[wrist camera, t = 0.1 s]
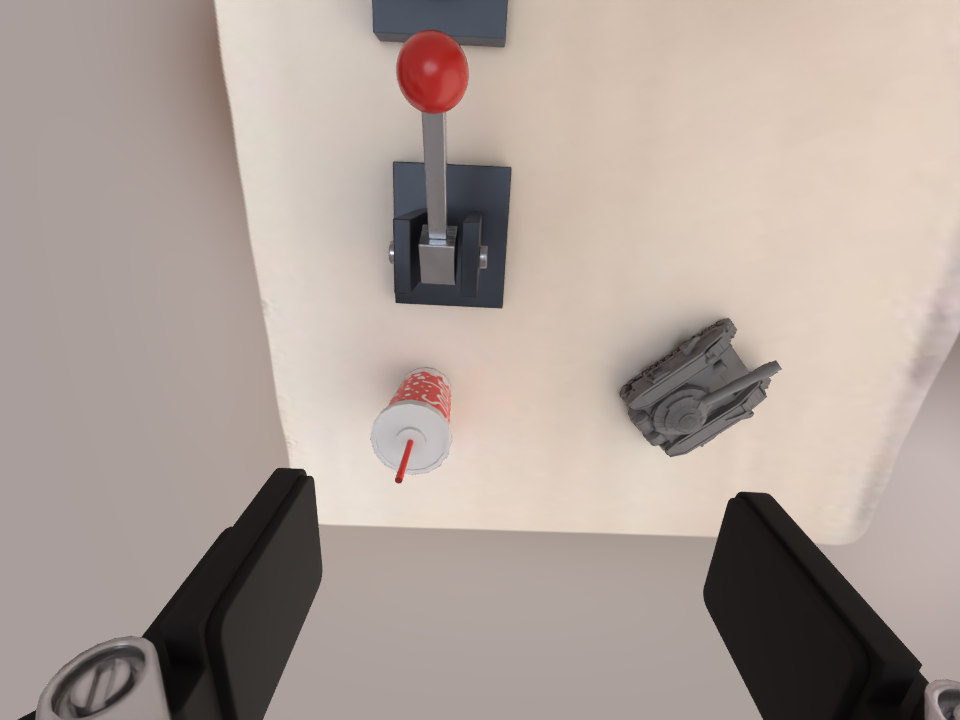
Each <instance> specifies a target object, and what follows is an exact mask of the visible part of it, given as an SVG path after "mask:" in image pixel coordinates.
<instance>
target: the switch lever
mask: <svg viewBox="0 0 960 720" xmlns="http://www.w3.org/2000/svg"><path fill="white" fill-rule="evenodd" d="M396 75H397V81H398V85H399V87H400V90H401V92H402V94H403V95H404V97H405V98H406V100H407V101H408V102H409V103H410V104H411V105H412V106H413V107H415V108H416V109H418V110H420V111H422V125H423V144H424V163H425V182H426V202H427V221H428V225H423V226H422V230H421V234H420V239H419V243H418V254H419V268H420V282H421V283H427V284H447V285H455V283H456V275H457V267H458V227H457V226H448V198H447V143H446V112H447V111H449V110H451V109H452V108H453V107H455V106H456V105H457V104H458V103H459V102H460V100H461V99H462V97H463V95H464V93H465V91H466V88H467V85H468V78H469V71H468V63H467V60H466V57H465V54H464V52H463V50H462V48H461V47H460V46H459V44H458V43H457V42H456V41H455V40H454V39H453V38H452V37H451V36H449V35H448V34H446V33H444V32H441V31H438V30H423V31H420V32H417V33H416V34H414V35H412V36H411V37H410V38H409V39H408V40H407V41H406V42H405V43H404V45H403V46H402V48H401V50H400V52H399V55H398V59H397V65H396Z"/></svg>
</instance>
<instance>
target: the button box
mask: <svg viewBox="0 0 960 720" xmlns="http://www.w3.org/2000/svg"><path fill="white" fill-rule="evenodd" d="M507 4H508V0H372V7H373V32H374V33H375V35H376V36H377V37H378V38H379V40H380V41H390V42H406V41H407V40H408V39H409V38H410V37H411V36H412V35H414V34H416V33H417V32H420V31H423V30H438V31H441V32H444V33H446V34H448V35H449V36H451V37H452V38H453V39H454V40H455V41H456V42H457V43H458V44H459V45H474V46H495V47H504V46H505V39H506V22H507Z"/></svg>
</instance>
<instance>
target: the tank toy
mask: <svg viewBox="0 0 960 720" xmlns="http://www.w3.org/2000/svg"><path fill="white" fill-rule="evenodd" d="M716 326H717V327H715V326H714V325H713V326H711V327H710V330H708V331H707V330H705V331H704V332H702V333H703V335H702V336H699V335H698V336H693V337H692V338H691V340H690V341H689V342H685V343H684V344H682V345H681V346H679V349H680V351H679V352H678V351H677V350H675V351H674V352H673V353H672V354H673V356H671V357H670V356H669V355H668V356H667V357H665V359H666V360H665V361H664V362H663V361H662V360H661V361H659V362H658V365H657V366H655V365H653V366H652V367H650V368H651V369H652V370H649V371H648V370H646V371H644V373H643V374H642V375H643V377H642V375H641V374H640V375H638V376H637V377H635V378H636V380H637V381H636V382H633V380H631V381H630V382H628V385H627V386H624V387H623V388H622V390H621V392H620V397H621V398H622V399H623V401H624V402H625V403H626V404H627V406H628V405H629V406H630V407H631V409H630V410H629V412H628V415H629V416H630V420H631V421H632V422H633V423H634V424H635V426H637V427H638V429H639V430H640V431H642V433H643V436H644V437H645V438H646V440H647V441H649V442H650V444H651V445H653V446H657V445H659V446H660V447H661V448H662V450H663V451H664V450H665V453H666V454H667V455H669V456H670V457H673V456H678V455H683V454H687V453H689V452H690V451H692V450H694V449H695V448H697V447H698V446H701V447H702V446H704V444H706V443H707V442H709V441H711V440H712V439H714V438H715V437H716V436H717V435H718V434H719V433H721V432H723V431H724V430H726V429H728V428H729V427H731V426H732V425H734V424H736V423H737V422H739V421H740V420H742V419H747V418H751V417H752V416H753V415H754V412H752V409H753V408H754V407H756V406H757V405H758V404H759V403H760V402H762V401H763V400H764V399H765V398H766V397H767V396H766V393H765V390H764V389H766V388H767V389H768V385H769V384H770V382H771V380H770V378H769V377H771V376H773V375H774V374H776V373H778V372H777V371H779V370H781V369H782V368H781V367H780V365H779V364H778V363H777V361H776V360H775V361H773V362H769V363H767V364H764V365H762V366H761V367H759V368H757V369H755V371H753V372H751V373H749V372H748V370H747V369H746V367H745V366H744V364H743V363H742V361H741V360H740V358H739V357H738V355H737V354H736V353H735V351H734V350H733V348H732V345H731V344H730V342H731V340H730V339H731V338H734V335H735V334H736V331H737V329H736V327H735V326H734V324H733V323H732V321H731V320H730V319H729V318H726V319H724V320H723V321H719V322H717V325H716Z"/></svg>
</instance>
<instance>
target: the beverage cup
mask: <svg viewBox="0 0 960 720" xmlns="http://www.w3.org/2000/svg"><path fill="white" fill-rule="evenodd" d="M450 405H451V389H450V384H449V382H448V380H447V379H446V378H445V376H444V375H443V374H441V373H440V372H438V371H437V370H434V369H429V368H421V369H416V370H414V371H413V372H411V373H409V374H408V375H407V377H406V378H405V380H404V381H403V383H402V384H401V386H400V388H399V389H398V391H397V392H396V394H395V396H394V397H393V399H392V401H391V402H390V404H389V405H388V407H386V408H385V409H383V410H382V412H381V413H380V415H379V416H378V418H377V419H376V420H375V422H374V424H373V426H372V432H371V439H370V440H371V443H372V447H373V450H374V453H375V454H376V455H377V457H378V458H379V459H380V460H381V462H382V463H383V464H384V465H386V466H387V467H389V468H391V469H393V470H394V471H396V472H397V475H396V478H395V482H396V483H401V482H402V480H403V477H404V474H409V475H416V474H424V473H428V472H430V471H432V470H434V469H436V468H437V467H439V466H440V465H441V464H442V463H443V462H444V460H445V459H446V458H447V457H448V455H449V452H450V447H451V443H452V433H451V429H450Z"/></svg>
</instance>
